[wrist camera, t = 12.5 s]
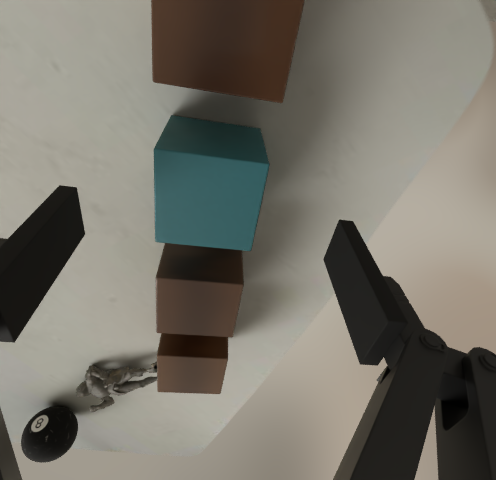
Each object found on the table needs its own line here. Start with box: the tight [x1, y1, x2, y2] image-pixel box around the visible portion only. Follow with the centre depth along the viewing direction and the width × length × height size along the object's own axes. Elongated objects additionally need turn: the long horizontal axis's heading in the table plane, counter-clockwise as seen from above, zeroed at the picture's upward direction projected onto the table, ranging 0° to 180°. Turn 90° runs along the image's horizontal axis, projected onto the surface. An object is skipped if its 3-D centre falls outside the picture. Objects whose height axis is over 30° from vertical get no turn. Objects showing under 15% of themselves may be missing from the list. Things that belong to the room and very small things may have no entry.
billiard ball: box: [21, 407, 78, 462], centre depth 40 cm, size 6×6×6 cm
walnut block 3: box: [157, 333, 228, 394], centre depth 31 cm, size 6×6×6 cm
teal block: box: [154, 115, 269, 251], centre depth 20 cm, size 6×6×6 cm
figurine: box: [76, 361, 157, 412], centre depth 37 cm, size 6×4×12 cm
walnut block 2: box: [156, 243, 244, 337], centre depth 26 cm, size 6×6×6 cm
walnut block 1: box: [151, 0, 305, 103], centre depth 15 cm, size 6×6×6 cm
